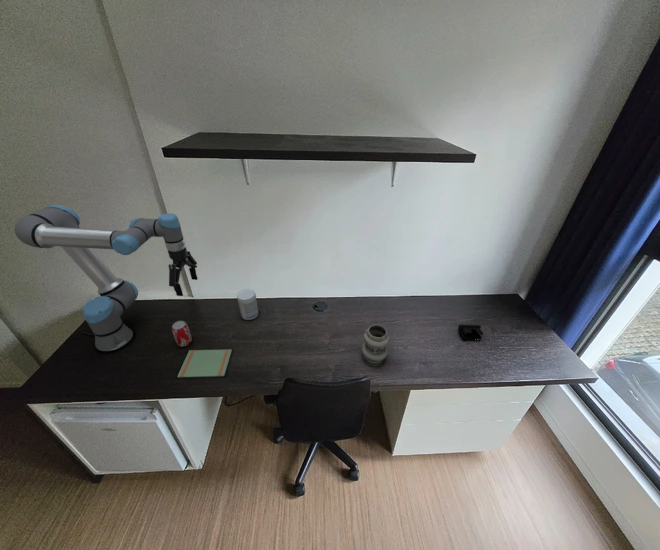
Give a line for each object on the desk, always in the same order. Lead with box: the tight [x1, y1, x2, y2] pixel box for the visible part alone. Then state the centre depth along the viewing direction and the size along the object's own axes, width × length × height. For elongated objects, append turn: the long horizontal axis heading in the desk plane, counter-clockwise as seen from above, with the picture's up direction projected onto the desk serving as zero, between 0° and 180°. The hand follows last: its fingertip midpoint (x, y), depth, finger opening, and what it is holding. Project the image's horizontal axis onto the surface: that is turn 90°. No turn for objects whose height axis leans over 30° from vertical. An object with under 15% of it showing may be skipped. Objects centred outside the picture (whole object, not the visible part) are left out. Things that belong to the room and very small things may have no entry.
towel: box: [176, 348, 233, 379], centre depth 133 cm, size 20×15×1 cm
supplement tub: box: [236, 288, 259, 321], centre depth 157 cm, size 10×10×15 cm
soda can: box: [171, 320, 193, 348], centre depth 140 cm, size 7×7×12 cm
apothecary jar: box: [361, 324, 391, 367], centre depth 134 cm, size 12×12×18 cm
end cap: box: [457, 323, 484, 342], centre depth 151 cm, size 10×7×7 cm
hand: (187, 287), depth 141 cm, fingers open, 13 cm apart
